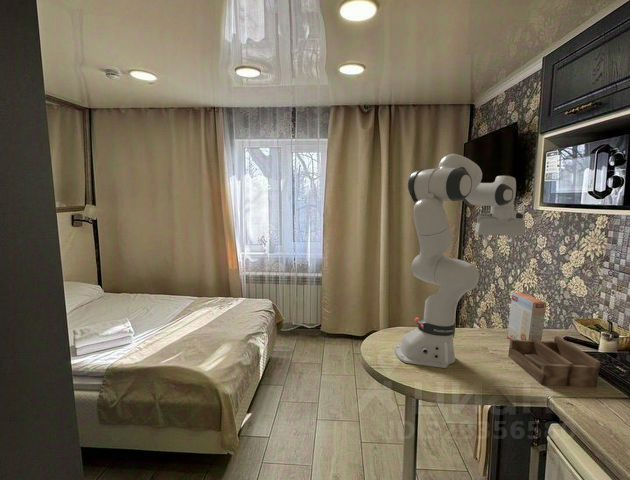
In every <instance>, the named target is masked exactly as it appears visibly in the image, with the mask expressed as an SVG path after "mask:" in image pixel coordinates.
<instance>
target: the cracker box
mask: <svg viewBox="0 0 630 480" xmlns="http://www.w3.org/2000/svg"><path fill="white" fill-rule="evenodd" d="M511 294H512V295H511V296H512V297H511V301H510V302H511V303H510V310H509V318H508V326H507V334H506V338H508V339H509V341H510V340H531V338H535V339H537V340H538V341H542V337H543V331H544V324H545V317H546V310H547V309H546V308H547V302H545V301H543V300H540V299H539V298H537V297H534V296H532V295H529V294H527V293H524V292H513V293H511Z"/></svg>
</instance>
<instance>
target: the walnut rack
mask: <svg viewBox="0 0 630 480" xmlns="http://www.w3.org/2000/svg"><path fill="white" fill-rule="evenodd" d="M508 347H509V348H508V355H507V356H508V358H509V359H511V360H512V361H513V362H514V363H516V364H517V365H518V366H519V367H520V368H521V369H522V370H524V371H525V372H526V373H527V374H528V375H529V376H531V377H532V378H533V379H534V380H536V382H537V383H539V384H540V385H541V386H559V387H581V388H582V387H583V388H585V387H586V388H597V385H598V379H599V374H600V367H601V361H600V360H598V359H596V358H595V357H593V356H591V355H589V354H588V353H586V352H585V351H583V350H581V349H580V348H578V347H577V346H575V345H573V344H571V343H569V341H567V340H565V339H563V338H562V337H560V336H556V335H555V336H554V340H553V341H552V340H541V341H538V340H537V339H535V338H531V340H510V339H509V346H508ZM525 354H535V355H537V356H538V357H540V358H542V359H543V360H545V361H547V362H549V363H550V364H542V367H541V369H540V368H538V367H537V366H536V365H535V364H533V363H532V362H531V361H529V360H528V359H527V358H526V357H524V355H525Z"/></svg>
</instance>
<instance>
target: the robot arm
mask: <svg viewBox="0 0 630 480" xmlns="http://www.w3.org/2000/svg"><path fill="white" fill-rule="evenodd" d="M438 163H439V164H438V167H437V168H428V169H419V170H416V171H414V172H412V173H411V175H410V176H409V178H408V181H407V190H408V193H409V195H410V197H411V199H412V201H413V202H414V203H415V204H414V205H413V221H414V225H415V226H414V227H415V231H416V235H417V238H418V242H419V247H420V250H419V254H418V255H416V256H415V257H414V258H413V260H412V262H411V267H410V268H411V273H412V275H413V276H414V277H415V278H417V279H418V280H420V281H421V282H422V281H423V282H425V283H428V284H432V285H436V286H438V287H439V288H438V292H437V293H433V294H431V295H430V296H428V297H427V298H426V299H425V302H424V312H423V318H422V319H420V318H419V317H417V316H416V317H415V318H414V322H415V323H416V324H417V327H416V328H415V329H412V330H411V331H409V332H407V333H405V334H404V335H403V336H402V339H401V342H400V344H396V345H395V347H394V353H395V355H396V357H397V358H398V359H399V360H400V361H401V362H403V363H406V364H412V365H418V366H419V365H420V366H425V367H426V366H427V367H435V368H443V369H446V368H448V367H449V366H450V365H452V364H454V363H455V361H456V355H455V348H454V338H455V333H456V323H455V321H456V320H455V319H456V311H457V307H458V303H459V301H460V300H461V299H462V297H463V296H464V295H465V294H466V293H468V292H470V291H472V290H473V289H475V288H476V286H477V285H478V284H479V280H480V273H479V269H478V268H477V266H476V265H474V264H473V263H470V262H469V261H466V260H462V259H457V258H452V257H447V256H445V255H444V254H445V253H446V252H448V251H449V250H450V249H451V247H452V245H453V237H452V233H451V228H450V223H449V220H448V216H447V214H446V210H445V209H444V202H449V201H450V202H451V201H452V202H458V201H459V202H460V201H463V203H465V205H467V206H469V207H470V206H471V207H472V206H483V207H484V206H485V207H490V212H489V213H487V212H486V213H484V212H482V213H480V214H478V215H477V216H476V224H475V228H474V229H475V230H474V231H475V233H476V234H477V235H482V237H483V239H484V245H485V246H490V245H491V240H489V236H509V239H508V241H506V244H505V246H507V247H512V245H513V242H514V241H515V239H516V237H523V236H524V235H525V233H526V222H525V220H524V219H525V218H526V214H525V213H522V212H519V211H517V210H515V203H514V201H515V199H516V195H517V194H516V193H517V180H516V177H513V176H511V175H504V174H503V175H497V176H496V177H495V180H494V181H493V182H482V179H483V172H482V169H481V168H480V166H479V165H478V164H477V163H476V162H474V161H473V160H471V159H470V158H467V157H466V156H463V155H461V154H456V153H450V154H447V155H445V156H443V158H442V159H441V160H440V161H439V162H438Z"/></svg>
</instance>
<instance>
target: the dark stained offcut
mask: <svg viewBox="0 0 630 480" xmlns="http://www.w3.org/2000/svg"><path fill="white" fill-rule="evenodd" d="M524 357H526V358H527V359H528V360H529V361H531V362H532V363H533V364H535V365H536V366H537V367H538V368H540V369H541V367H542V364H550V363H549V362H547V361H545V360H543V359H542V358H540V357H538V356H537V355H535V354H525V355H524Z"/></svg>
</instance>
